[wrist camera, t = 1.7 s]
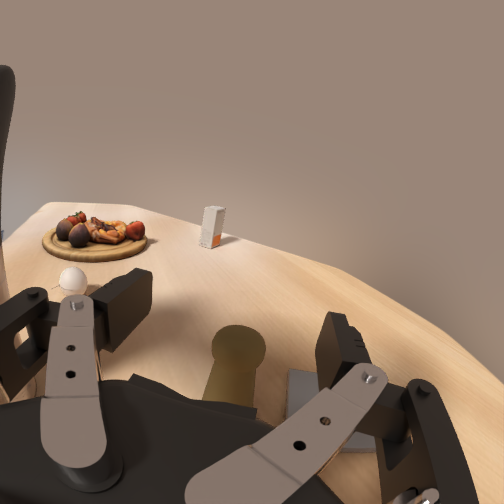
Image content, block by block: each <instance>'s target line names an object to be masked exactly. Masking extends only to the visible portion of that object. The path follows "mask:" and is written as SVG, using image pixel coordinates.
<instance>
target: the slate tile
mask: <svg viewBox="0 0 504 504" xmlns="http://www.w3.org/2000/svg"><path fill="white" fill-rule="evenodd" d="M318 393H319V387H318V376H317V373H314V372H308V371H301V370H295V369H289V371H288V379H287V399H286V417H285V421H286V420H287V419H288V418H289V417H291V416H292V415H293V414H294V413H296V412H297V411H298V410H299V409H301V408H302V407H303V406H304V405H305V404H306V403H308V402H309V401H310V400H311V399H312V398H314V397H315V396H316V395H317V394H318ZM339 452H376V445H375V439H374V436H370V435H367V434H363V433H360V432H355V433H354V434H353V436H352V437H351V438H350V439H349V441H348V442H347V443H346V444H345V446H344V447H343V448H342V449H341V450H340V451H339Z"/></svg>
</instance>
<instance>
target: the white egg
mask: <svg viewBox="0 0 504 504" xmlns="http://www.w3.org/2000/svg"><path fill="white" fill-rule="evenodd" d="M58 286H60V289H61V291H62V292H63V294H64V295H66V296H70V295H76V294H80V295H83V294H84V293H85V291H86V289H87V277H86V275H85V274H84V272H83V271H82V270H81V269H79V268H77V267H69V268H66V269H65V270H64V271H63V272H62V273H61V276H60V279H59V285H58ZM56 287H57V286H56ZM54 288H55V287H54ZM52 289H53V288H52Z"/></svg>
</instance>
